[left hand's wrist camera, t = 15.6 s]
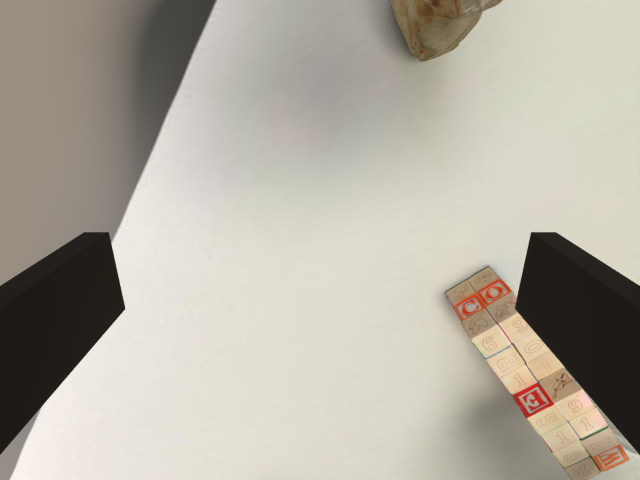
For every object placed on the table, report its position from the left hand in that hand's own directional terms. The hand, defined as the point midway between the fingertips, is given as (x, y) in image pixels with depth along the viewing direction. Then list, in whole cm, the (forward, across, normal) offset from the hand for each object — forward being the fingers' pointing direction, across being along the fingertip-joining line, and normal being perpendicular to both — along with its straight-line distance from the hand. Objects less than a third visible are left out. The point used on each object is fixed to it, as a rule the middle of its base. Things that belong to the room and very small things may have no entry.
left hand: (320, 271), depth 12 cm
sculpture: (+30, +9, +11) cm, 34 cm away
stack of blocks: (+30, +24, -25) cm, 46 cm away
